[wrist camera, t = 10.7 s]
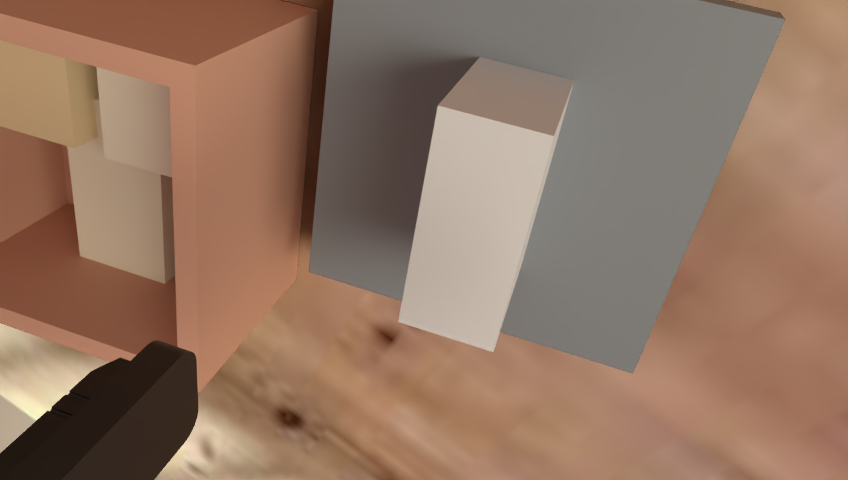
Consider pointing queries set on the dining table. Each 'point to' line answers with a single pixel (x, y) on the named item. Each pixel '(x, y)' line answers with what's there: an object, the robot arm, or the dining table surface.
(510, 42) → the lid
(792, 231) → the dining table surface
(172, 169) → the crate
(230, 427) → the dining table surface
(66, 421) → the robot arm
